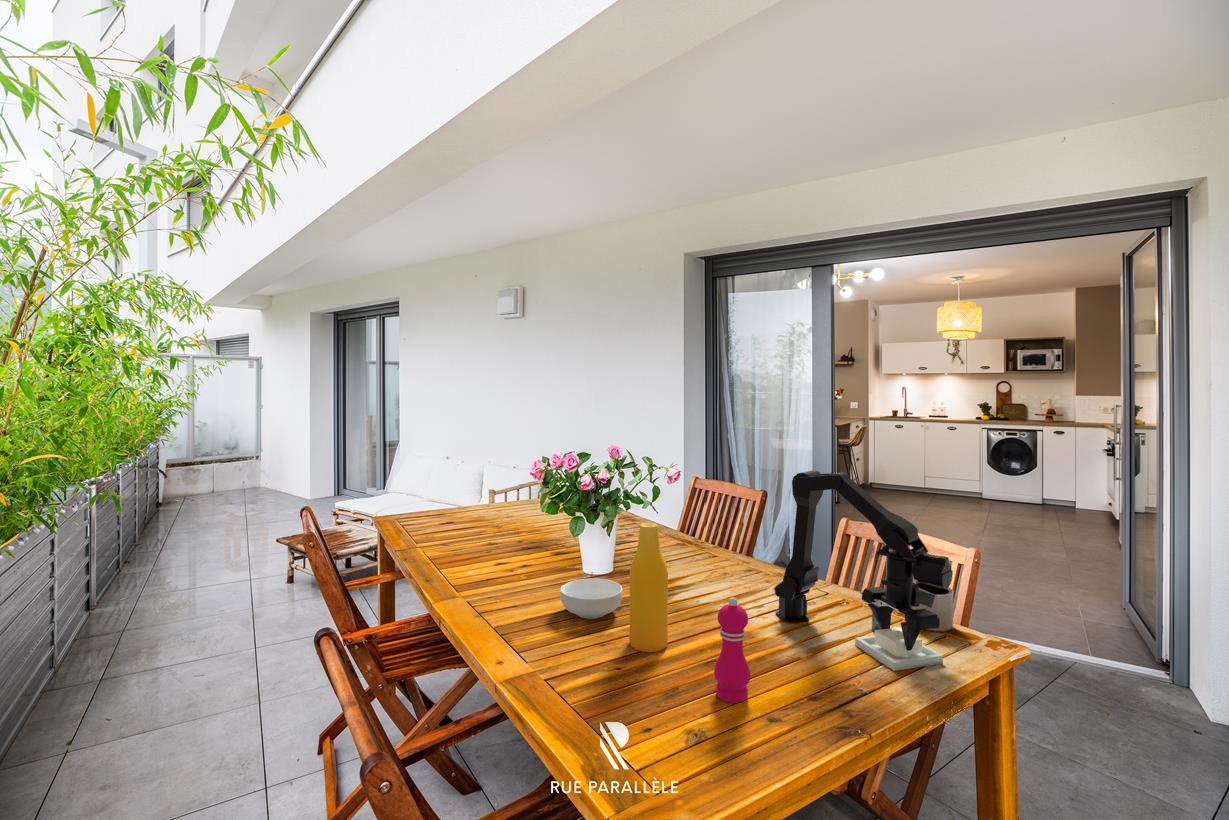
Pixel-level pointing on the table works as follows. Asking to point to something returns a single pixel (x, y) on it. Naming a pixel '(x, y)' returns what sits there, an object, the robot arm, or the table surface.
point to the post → (875, 624)
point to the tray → (898, 662)
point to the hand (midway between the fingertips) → (897, 643)
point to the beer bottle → (648, 593)
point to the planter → (939, 606)
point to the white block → (895, 642)
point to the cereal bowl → (591, 597)
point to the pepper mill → (732, 654)
